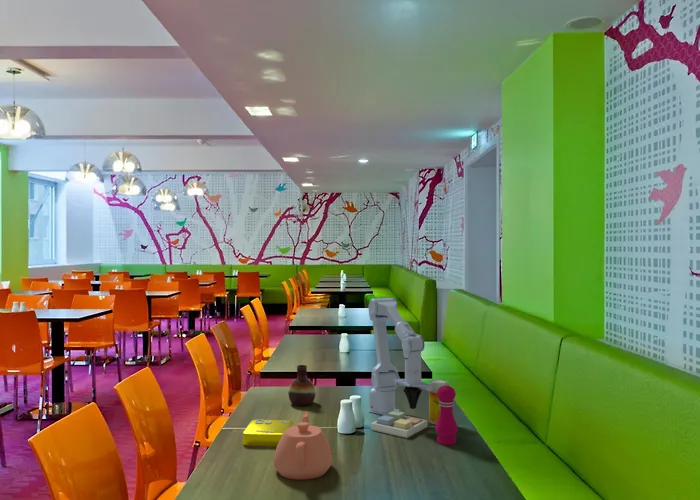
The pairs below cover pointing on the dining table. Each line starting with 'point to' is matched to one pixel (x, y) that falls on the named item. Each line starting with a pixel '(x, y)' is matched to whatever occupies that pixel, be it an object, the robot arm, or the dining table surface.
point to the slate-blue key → (386, 420)
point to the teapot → (303, 452)
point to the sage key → (397, 415)
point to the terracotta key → (414, 420)
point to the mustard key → (403, 424)
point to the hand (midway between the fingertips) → (413, 408)
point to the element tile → (265, 432)
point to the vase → (302, 388)
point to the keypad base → (400, 432)
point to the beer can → (434, 401)
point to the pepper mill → (446, 416)
